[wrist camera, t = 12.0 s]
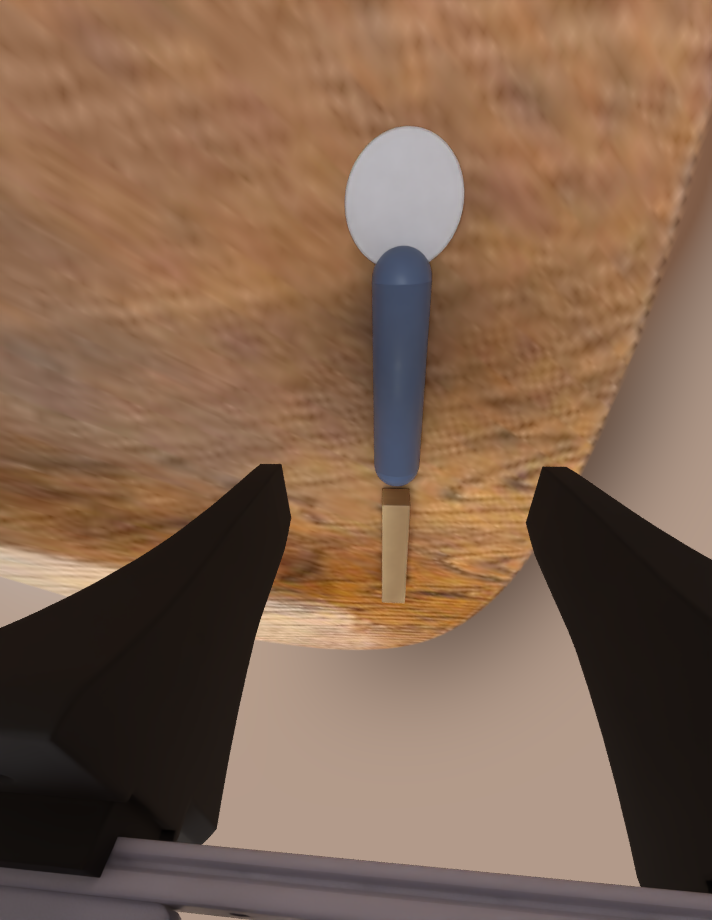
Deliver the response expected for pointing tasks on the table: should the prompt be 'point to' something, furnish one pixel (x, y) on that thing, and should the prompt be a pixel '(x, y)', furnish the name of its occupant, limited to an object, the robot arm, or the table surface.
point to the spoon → (402, 275)
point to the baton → (394, 543)
